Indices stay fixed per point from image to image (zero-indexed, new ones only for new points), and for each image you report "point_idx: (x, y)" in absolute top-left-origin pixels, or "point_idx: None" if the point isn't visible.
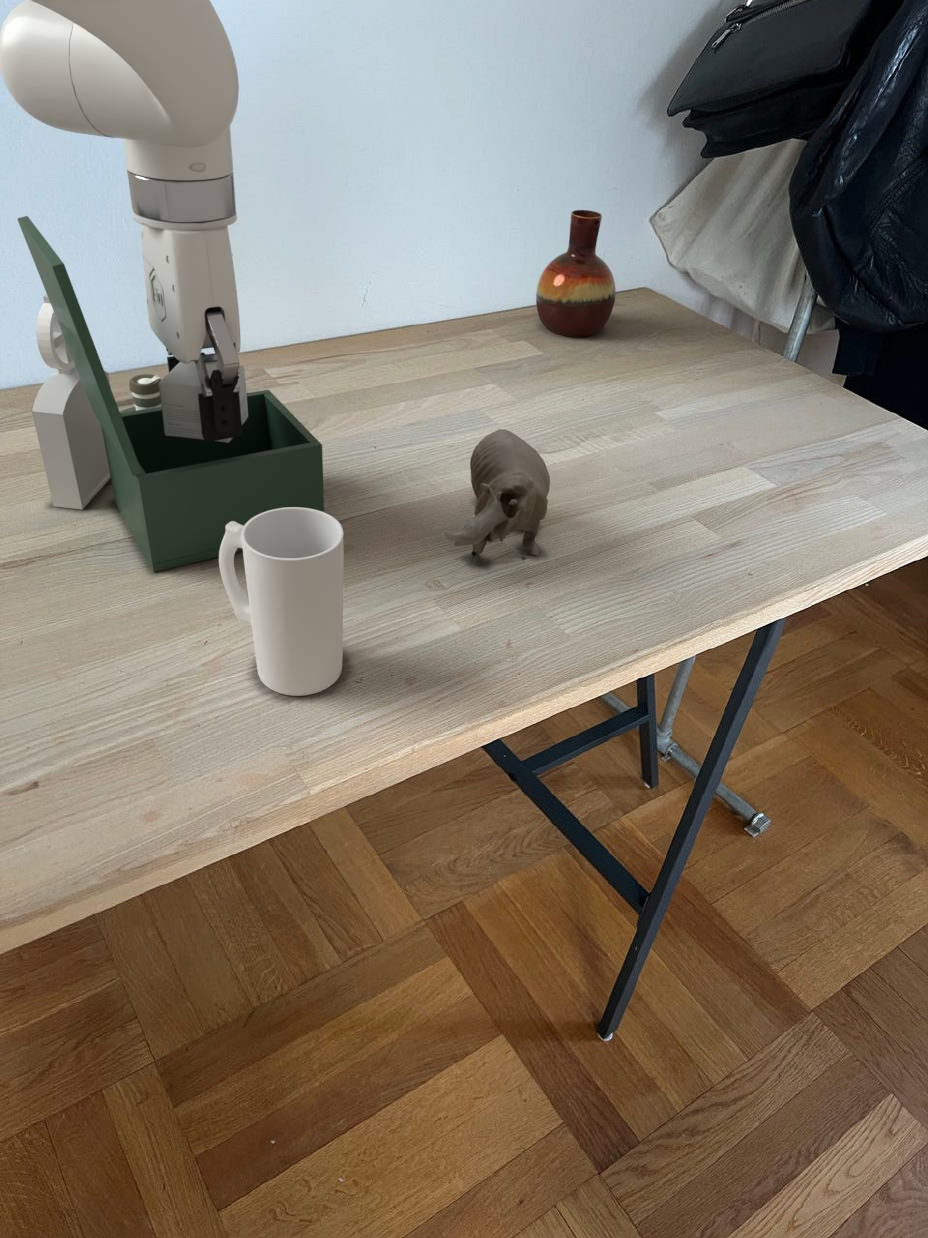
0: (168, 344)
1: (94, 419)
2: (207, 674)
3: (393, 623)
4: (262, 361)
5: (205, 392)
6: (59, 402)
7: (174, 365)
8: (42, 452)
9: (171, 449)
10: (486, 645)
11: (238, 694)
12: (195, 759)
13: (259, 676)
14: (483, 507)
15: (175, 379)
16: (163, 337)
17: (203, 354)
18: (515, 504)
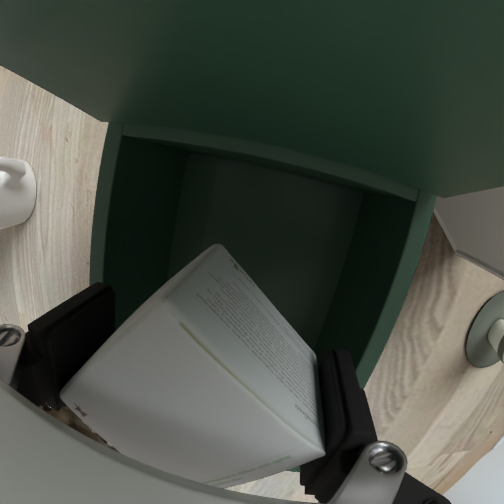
0: (9, 430)
1: (487, 223)
2: (43, 126)
3: (30, 282)
4: (476, 452)
5: (2, 331)
6: None
7: (334, 424)
8: None
9: (355, 290)
10: (6, 308)
11: (23, 139)
12: (9, 96)
13: (21, 159)
14: (49, 413)
15: (146, 357)
16: (72, 486)
17: (308, 491)
18: None
